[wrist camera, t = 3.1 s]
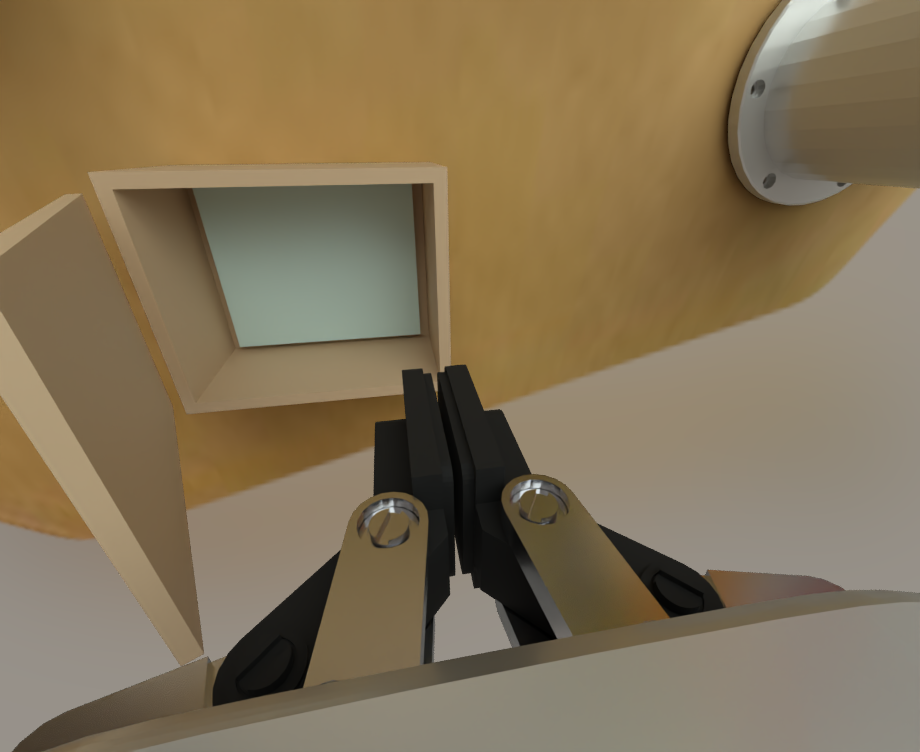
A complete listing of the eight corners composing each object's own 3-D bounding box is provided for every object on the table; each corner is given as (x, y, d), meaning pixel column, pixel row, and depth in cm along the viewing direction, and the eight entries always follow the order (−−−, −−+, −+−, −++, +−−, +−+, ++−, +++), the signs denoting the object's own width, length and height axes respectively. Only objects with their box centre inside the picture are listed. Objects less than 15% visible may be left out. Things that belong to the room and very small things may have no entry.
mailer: (430, 162, 23) (447, 167, 17) (436, 338, 29) (451, 389, 23) (170, 165, 21) (87, 171, 15) (230, 354, 27) (186, 414, 21)
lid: (-22, 272, 5) (-86, 280, 5) (204, 654, 10) (177, 668, 10) (82, 193, 15) (61, 194, 15) (172, 406, 20) (158, 410, 20)
